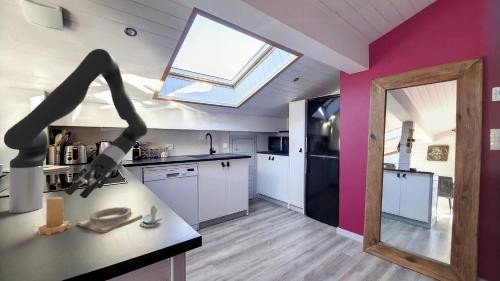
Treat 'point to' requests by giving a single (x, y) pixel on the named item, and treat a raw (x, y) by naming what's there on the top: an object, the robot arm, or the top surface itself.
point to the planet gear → (54, 217)
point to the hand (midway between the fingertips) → (74, 195)
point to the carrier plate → (109, 227)
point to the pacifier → (150, 218)
